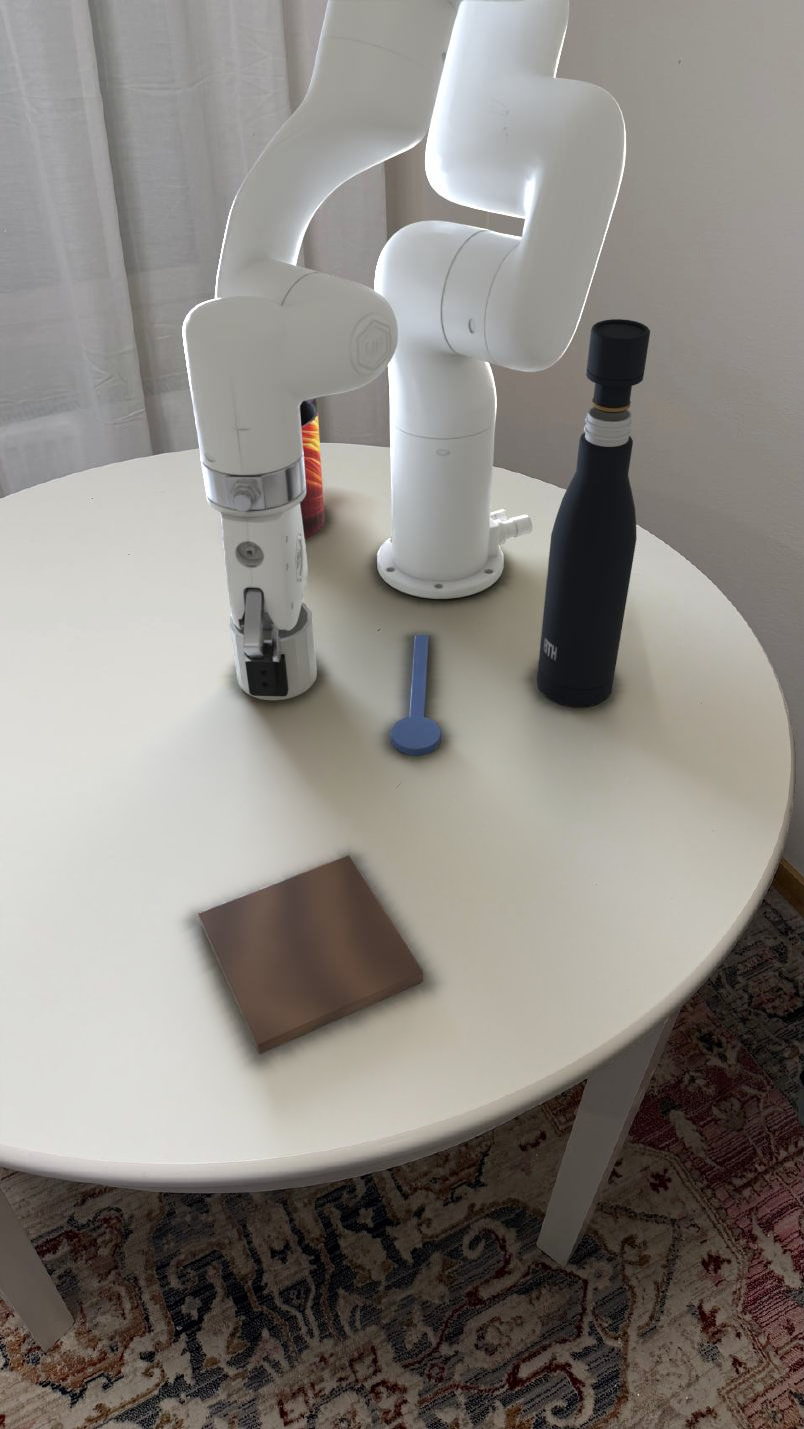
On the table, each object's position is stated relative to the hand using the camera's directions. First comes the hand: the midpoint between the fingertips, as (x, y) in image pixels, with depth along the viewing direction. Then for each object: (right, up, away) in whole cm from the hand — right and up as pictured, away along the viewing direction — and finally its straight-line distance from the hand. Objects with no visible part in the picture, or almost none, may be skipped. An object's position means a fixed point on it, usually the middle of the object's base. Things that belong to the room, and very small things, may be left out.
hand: (276, 664), depth 86 cm
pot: (0, -1, +1) cm, 1 cm away
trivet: (+5, -20, -21) cm, 29 cm away
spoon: (+12, -2, -1) cm, 13 cm away
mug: (-2, +18, +23) cm, 29 cm away
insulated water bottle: (+26, -2, 0) cm, 26 cm away
